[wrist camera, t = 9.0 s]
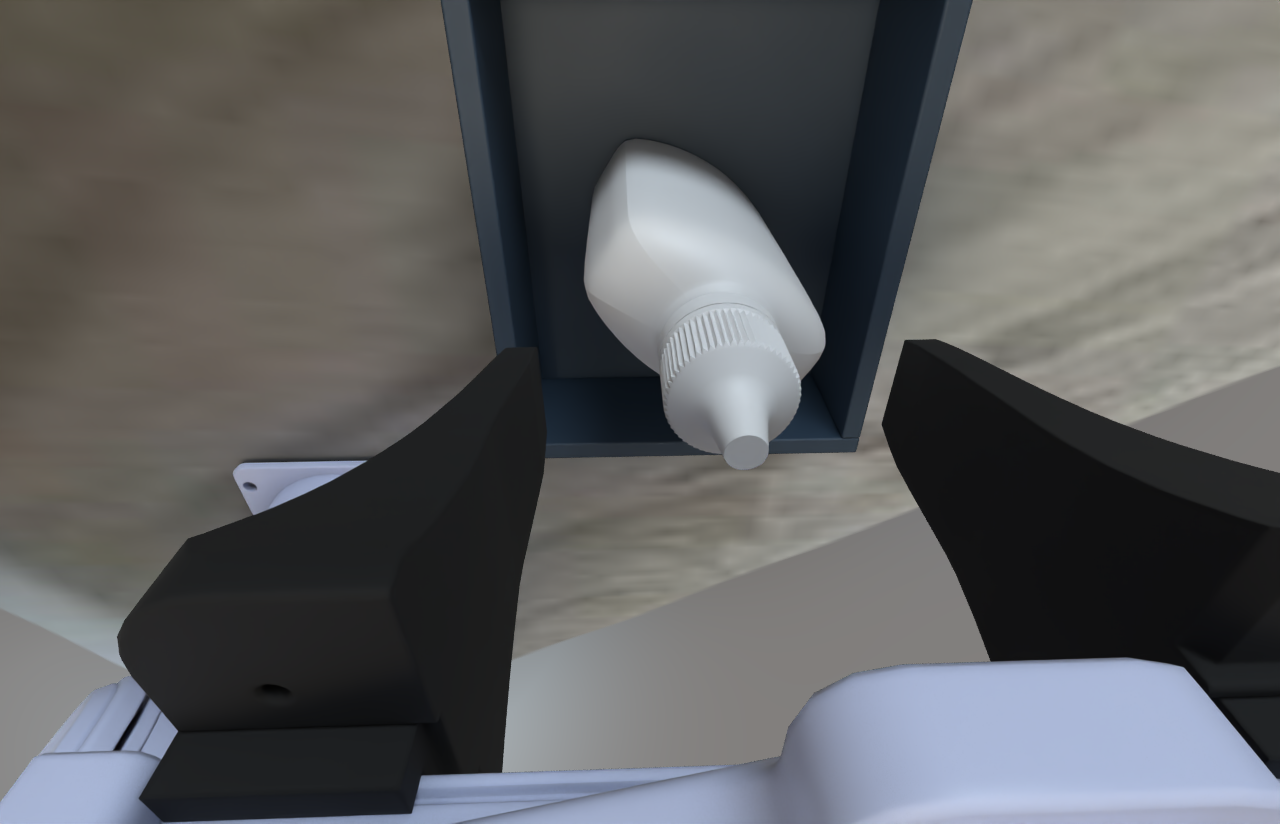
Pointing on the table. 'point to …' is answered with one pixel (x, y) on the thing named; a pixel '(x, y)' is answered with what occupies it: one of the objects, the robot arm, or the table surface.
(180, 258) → the table surface
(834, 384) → the bin
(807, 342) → the eye dropper bottle
